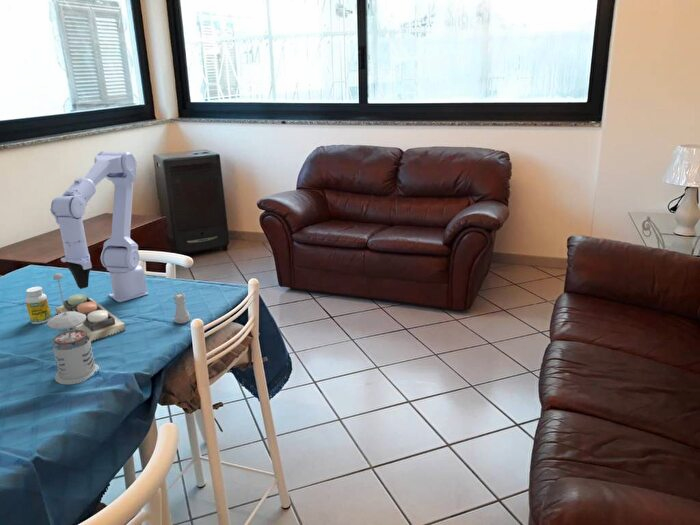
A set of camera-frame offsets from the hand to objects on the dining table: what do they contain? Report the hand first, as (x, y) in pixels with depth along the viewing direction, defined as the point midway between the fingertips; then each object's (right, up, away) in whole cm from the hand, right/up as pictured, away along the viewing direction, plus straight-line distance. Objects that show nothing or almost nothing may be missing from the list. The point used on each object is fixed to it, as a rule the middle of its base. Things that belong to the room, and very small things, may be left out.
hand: (83, 287), depth 158 cm
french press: (+9, -19, -22) cm, 31 cm away
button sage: (-5, -5, +8) cm, 11 cm away
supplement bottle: (-14, -10, +5) cm, 18 cm away
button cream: (+6, -9, -3) cm, 11 cm away
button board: (0, -10, +4) cm, 10 cm away
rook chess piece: (+26, -10, +3) cm, 28 cm away
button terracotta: (0, -7, +3) cm, 7 cm away
